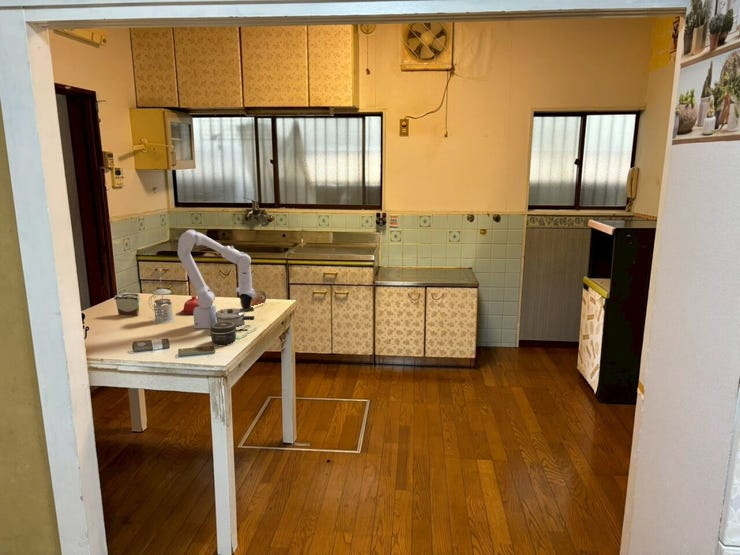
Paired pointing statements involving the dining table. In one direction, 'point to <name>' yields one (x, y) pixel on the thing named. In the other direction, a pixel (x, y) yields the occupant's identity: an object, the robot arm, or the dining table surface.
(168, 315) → the french press
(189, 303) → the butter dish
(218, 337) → the jar
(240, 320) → the cooker pot
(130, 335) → the dining table surface
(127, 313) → the food container
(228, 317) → the cooker lid
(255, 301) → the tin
